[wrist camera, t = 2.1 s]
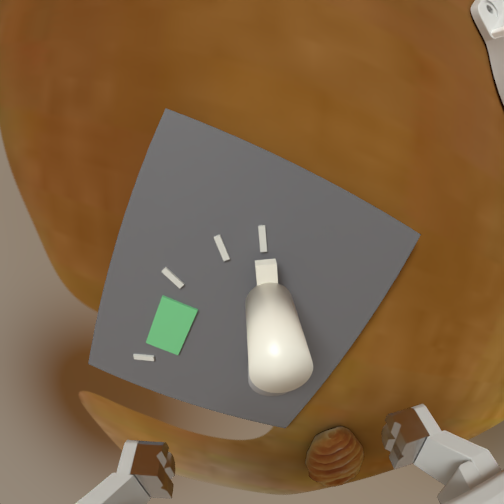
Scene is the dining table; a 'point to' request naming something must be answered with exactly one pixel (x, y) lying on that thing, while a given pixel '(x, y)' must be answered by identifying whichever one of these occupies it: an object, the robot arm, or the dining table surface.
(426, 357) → the dining table surface
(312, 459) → the pastry
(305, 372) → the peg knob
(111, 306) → the dial plate
